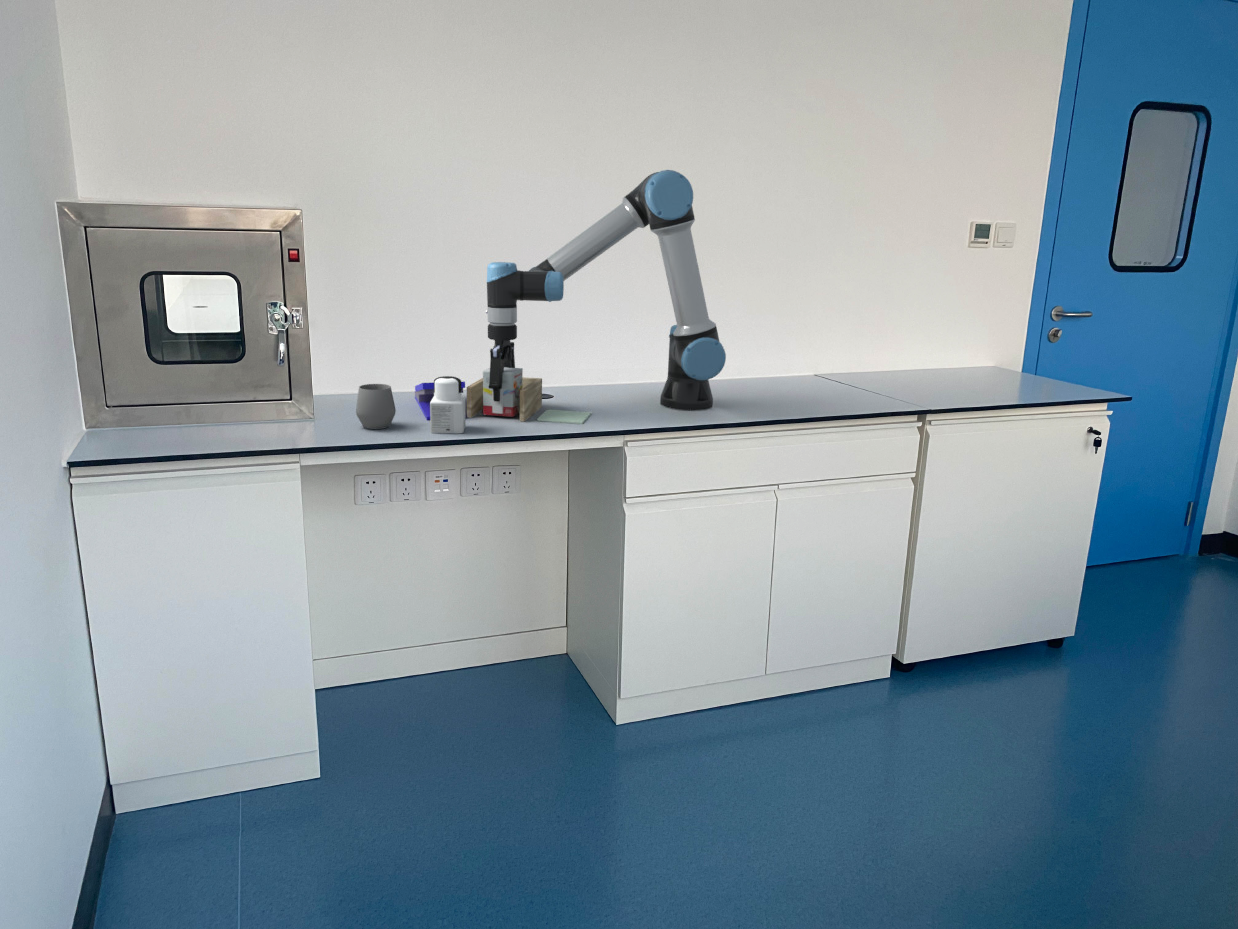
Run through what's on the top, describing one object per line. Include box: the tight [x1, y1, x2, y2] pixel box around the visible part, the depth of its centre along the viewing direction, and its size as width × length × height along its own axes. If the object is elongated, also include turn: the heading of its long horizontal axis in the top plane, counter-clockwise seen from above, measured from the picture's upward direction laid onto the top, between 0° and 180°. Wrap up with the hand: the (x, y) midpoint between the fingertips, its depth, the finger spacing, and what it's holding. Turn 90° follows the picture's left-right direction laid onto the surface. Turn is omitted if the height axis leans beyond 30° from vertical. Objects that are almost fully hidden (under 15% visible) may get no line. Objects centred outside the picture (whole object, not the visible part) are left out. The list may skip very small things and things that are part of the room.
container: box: [430, 375, 467, 434], centre depth 214 cm, size 8×8×13 cm
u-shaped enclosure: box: [466, 376, 543, 422], centre depth 235 cm, size 15×18×8 cm
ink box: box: [482, 367, 524, 418], centre depth 231 cm, size 9×9×12 cm
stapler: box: [414, 381, 467, 421], centre depth 237 cm, size 12×28×10 cm, turn 19°
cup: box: [355, 383, 397, 430], centre depth 214 cm, size 10×9×10 cm
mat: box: [536, 409, 592, 425], centre depth 232 cm, size 12×12×1 cm
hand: (503, 409), depth 233 cm, fingers closed on ink box, 9 cm apart
